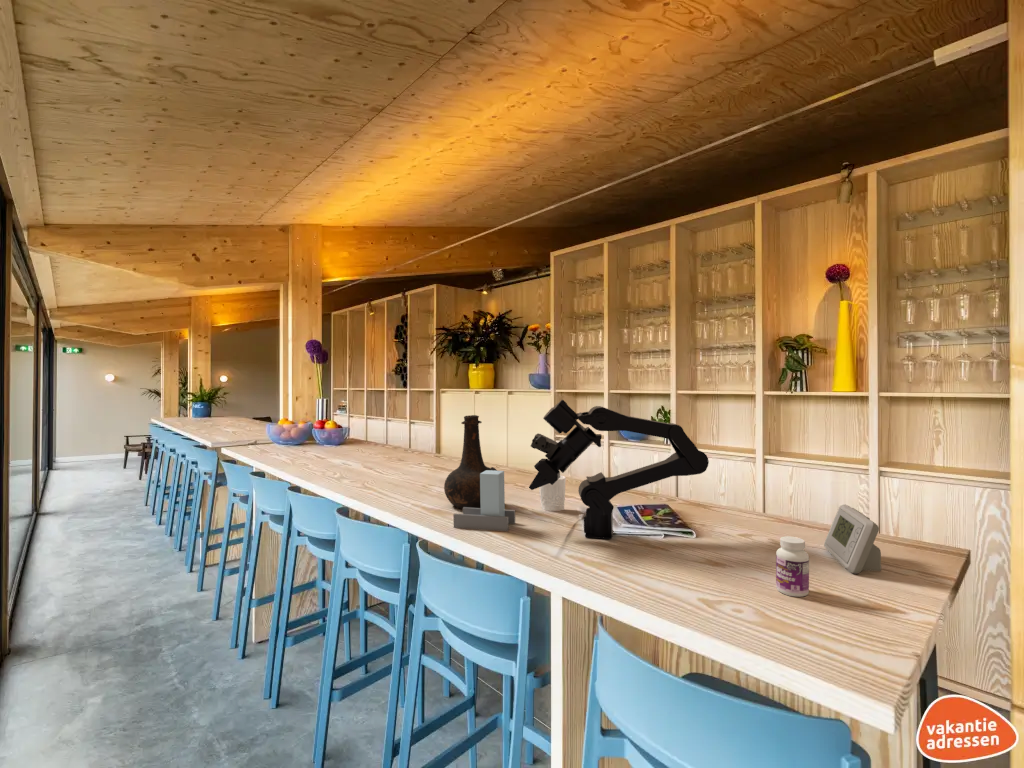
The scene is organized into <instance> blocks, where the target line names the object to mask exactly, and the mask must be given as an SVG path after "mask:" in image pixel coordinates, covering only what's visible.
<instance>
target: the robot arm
mask: <svg viewBox="0 0 1024 768" xmlns="http://www.w3.org/2000/svg"><path fill="white" fill-rule="evenodd" d="M542 418H543V420H544V421H545V422H546V423H548V425H549V426H550V427H552V428H553V430H555V431H556V432H557V433H558V434H559V435H560V434H561V433H564V434H565V435H566V434H567V435H566V436H565V437H564V438H563V439H561V440H559V441H556V440H554V439H552V438H550V437H548V436H545V435H544V434H541V433H536V434H535V435H534V437H533V438H532V440H531V444H530V447H531V448H532V449H534V450H535V449H536V450H538V451H540V452H543V453H544V454H545V455H544V456H545V458H540V460H539V461H537V462H536V463H535V465H533V466H534V469H535V470H536V471H537V473H536V475H535V476H534V478H533V479H532V481H531V483H530V485H529V486H528V488H529V490H531V491H534V490H536V489H539V487H541V486H544V485H546V484H549V483H550V484H551V485H553V484H554V483H555V482H556V481H557V480H558V479H559V478H560V475H561V473H563V474H564V473H565V472H566V471H567V469H569V468H570V466H571V465H572V464H574V462H575V461H576V460H578V458H580V456H581V455H582V454H583V453H584V452H585V451H586V450H587V449H589V447H590V446H591V445H592V444H593V443H594V445H596V446H597V447H598V448H601V447H602V437H603V435H602V434H601V433H596V432H594V431H593V430H592V429H591V428H590V427H592V428H593V429H594V430H595V431H598V432H599V431H600V432H621V431H622V432H623V431H624V432H625V431H626V432H630V433H635V434H641V435H647V436H651V437H652V436H653V437H657V438H663V439H667V440H668V441H669V443H670V445H671V447H672V449H673V450H674V451H675V452H673V453H672V454H671V455H669V457H667V458H666V459H664V460H662V461H657V462H655V463H652V464H649V465H645V466H643V467H639V468H637V469H633V470H630V471H627V472H623V473H621V474H617V475H615V476H609V477H607V476H605V475H604V473H603V472H599V473H597V474H594V475H591V476H585V477H586V479H584V480H583V481H581V482H580V484H579V486H578V489H577V490H578V494H579V495H578V496H579V497H580V500H581V502H582V503H583V504H584V505H585V506H586V507H587V508H586V511H585V514H584V516H583V533H584V538H587V539H589V538H590V539H603V540H612V538H613V536H614V533H615V530H614V526H613V525H614V524H613V523H614V522H613V520H614V516H613V515H614V514H613V513H614V512H613V511H614V505H613V503H612V502H611V500H612V499H613V498H614V497H616V496H617V495H620V494H621V493H624V492H628V491H630V490H631V491H632V490H634V489H638V488H639V487H643V486H646V485H650V484H652V483H655V482H659V481H662V480H665V479H668V478H671V477H681V476H682V477H684V476H685V477H686V476H694V475H701V474H703V473H705V472H706V471H707V469H708V467H709V464H710V463H709V462H710V461H709V457H708V456H707V454H706V453H705V452H703V451H701V450H700V449H698V447H697V446H696V444H695V443H694V442H693V441H692V440H691V438H689V436H688V435H687V434H686V432H685V430H684V429H683V426H681V425H679V424H677V423H673V422H670V423H668V422H663V421H657V420H651V419H646V418H641V417H637V416H630V415H625V414H623V413H620V412H617V411H614V410H612V409H609V408H607V407H605V406H601V405H595V406H593V407H591V408H590V409H589V410H588V411H582V412H579V413H576V412H575V411H574V409H572V408H571V407H570V406H569V404H568V403H567V402H566V401H565V400H564V399H560V401H558V402H557V403H555V405H554V406H552V407H551V408H550V409H549V410H548V411H547V412H546V414H545V415H544V416H543V417H542ZM578 421H580V422H581V423H580V422H578ZM583 425H588V426H586V427H584V426H583ZM589 426H590V427H589ZM573 427H574V428H573ZM570 430H571V431H570ZM613 530H614V531H613ZM613 532H614V533H613Z"/></svg>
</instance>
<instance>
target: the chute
mask: <svg viewBox="0 0 1024 768" xmlns="http://www.w3.org/2000/svg"><path fill="white" fill-rule="evenodd" d="M510 524H511V525H515V524H516V509H505V516H489V515H481V508H470V507H464V508H463V509H462V513H453V529H470V530H482V531H495V532H497V531H498V532H508V531H509V525H510Z"/></svg>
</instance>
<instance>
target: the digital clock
mask: <svg viewBox="0 0 1024 768" xmlns="http://www.w3.org/2000/svg"><path fill="white" fill-rule="evenodd" d="M879 530H880V527H879V526H878V524H877V523H875V522H874V521H873V520H871V519H870V517H868V516H867V515H865V514H863V513H862V512H861V511H860V510H858V509H856V508H854V507H852V506H850V505H848V504H842V505H839V507H838V509H837V511H836V514H835V516H834V518H833V520H832V524H831V526H830V528H829V531H828V533H827V535H826V536H825V537H826V538H825V539H824V542H823V547H824V548H825V549H826V551H828V552H829V553H830V555H831V556H832V557H833V558H834V559H835V560H836V561H837V562H838V563H839V564H840V565H841V566H842V567H844V569H846V570H848V572H849V573H852V574H854V575H855V574H860V573H861V572H862V571H870V572H872V571H874V572H880V571H882V551H881V549H880V547H878V546H877V545H876V544H874V543H875V540H876V538H877V536H878V534H879Z"/></svg>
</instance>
